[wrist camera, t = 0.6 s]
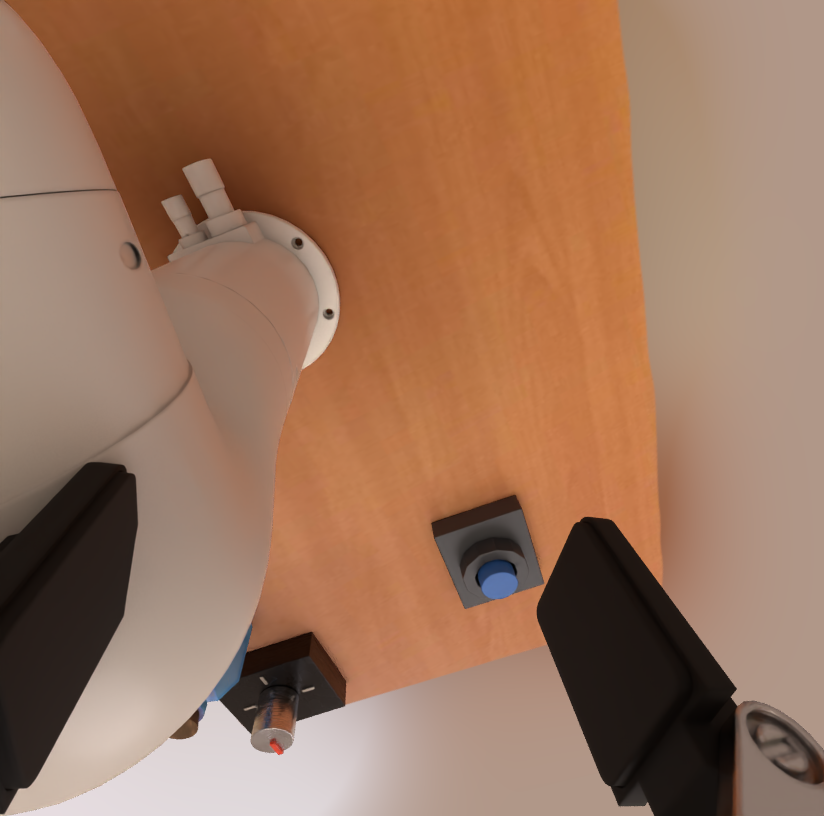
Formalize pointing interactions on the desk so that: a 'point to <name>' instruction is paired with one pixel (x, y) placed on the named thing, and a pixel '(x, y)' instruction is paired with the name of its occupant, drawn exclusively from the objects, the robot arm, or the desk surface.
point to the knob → (275, 720)
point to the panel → (288, 679)
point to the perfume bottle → (216, 691)
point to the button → (497, 579)
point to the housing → (487, 547)
